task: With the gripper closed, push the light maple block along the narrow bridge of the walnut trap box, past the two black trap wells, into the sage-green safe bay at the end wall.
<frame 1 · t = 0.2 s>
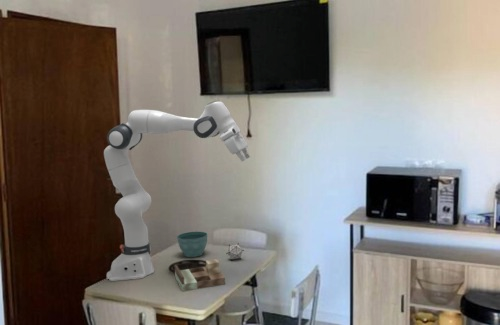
hand: (246, 159, 227), 54 cm above the table, tool tilted 30°, fingers open, 8 cm apart
trap box: (199, 280, 228), on the table
flower pot: (193, 255, 268), on the table
game die: (235, 259, 257), on the table
maple block: (213, 272, 230), point 3 cm above the table, touching trap box
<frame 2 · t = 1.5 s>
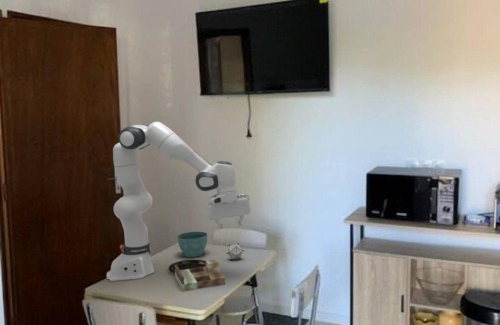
hand: (230, 226, 230), 23 cm above the table, tool pointing down, fingers open, 8 cm apart
nothing on the table moved.
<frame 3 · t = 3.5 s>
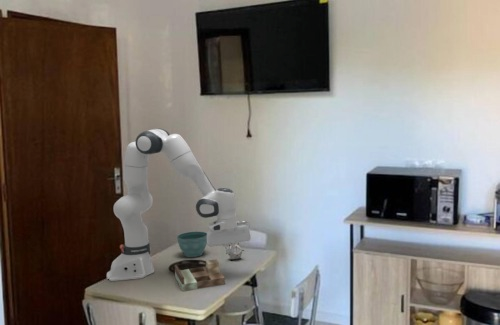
hand: (229, 252, 231), 11 cm above the table, tool pointing down, fingers closed
nothing on the table moved.
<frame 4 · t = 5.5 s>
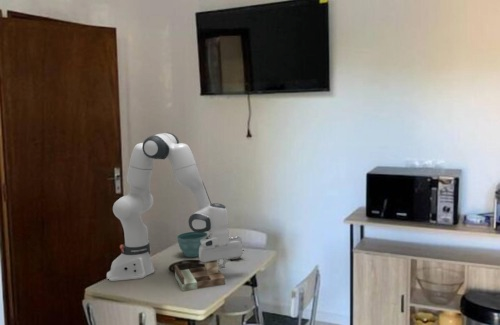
hand: (221, 268, 231), 4 cm above the table, tool pointing down, fingers closed
maple block: (211, 272, 230), point 3 cm above the table, touching gripper
everything else where it was.
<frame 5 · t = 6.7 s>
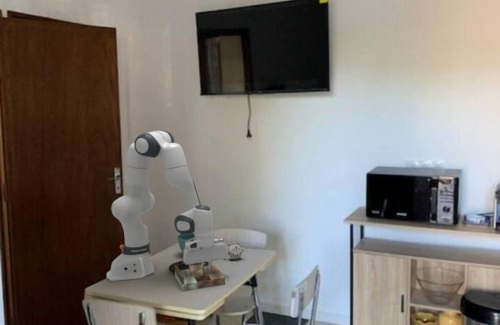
hand: (206, 270, 229), 4 cm above the table, tool pointing down, fingers closed
maple block: (196, 274, 228), point 3 cm above the table, touching gripper, trap box
everything else where it was.
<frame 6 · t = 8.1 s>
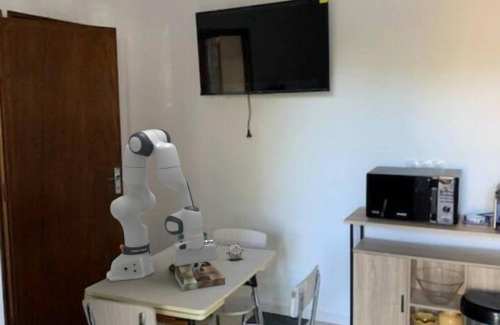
hand: (196, 272, 227), 4 cm above the table, tool pointing down, fingers closed
maple block: (186, 276, 226), point 3 cm above the table, touching gripper, trap box
everything else where it was.
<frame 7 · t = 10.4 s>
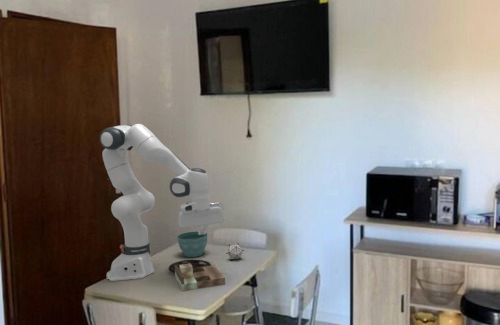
hand: (202, 234, 227), 21 cm above the table, tool pointing down, fingers closed
maple block: (186, 276, 226), point 3 cm above the table, touching trap box
everything else where it was.
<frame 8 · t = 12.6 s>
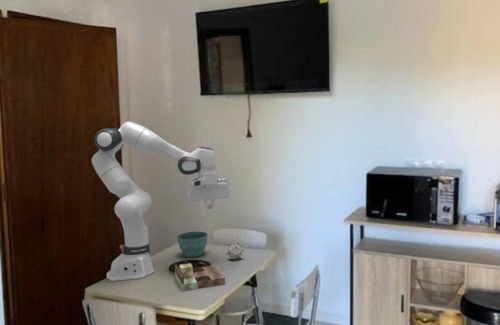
hand: (209, 208, 244), 29 cm above the table, tool pointing down, fingers closed
nothing on the table moved.
at the end: maple block 0.5 cm from the target spot on the trap box, point 3.0 cm above the trap box's base; maple block tilted 0° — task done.
